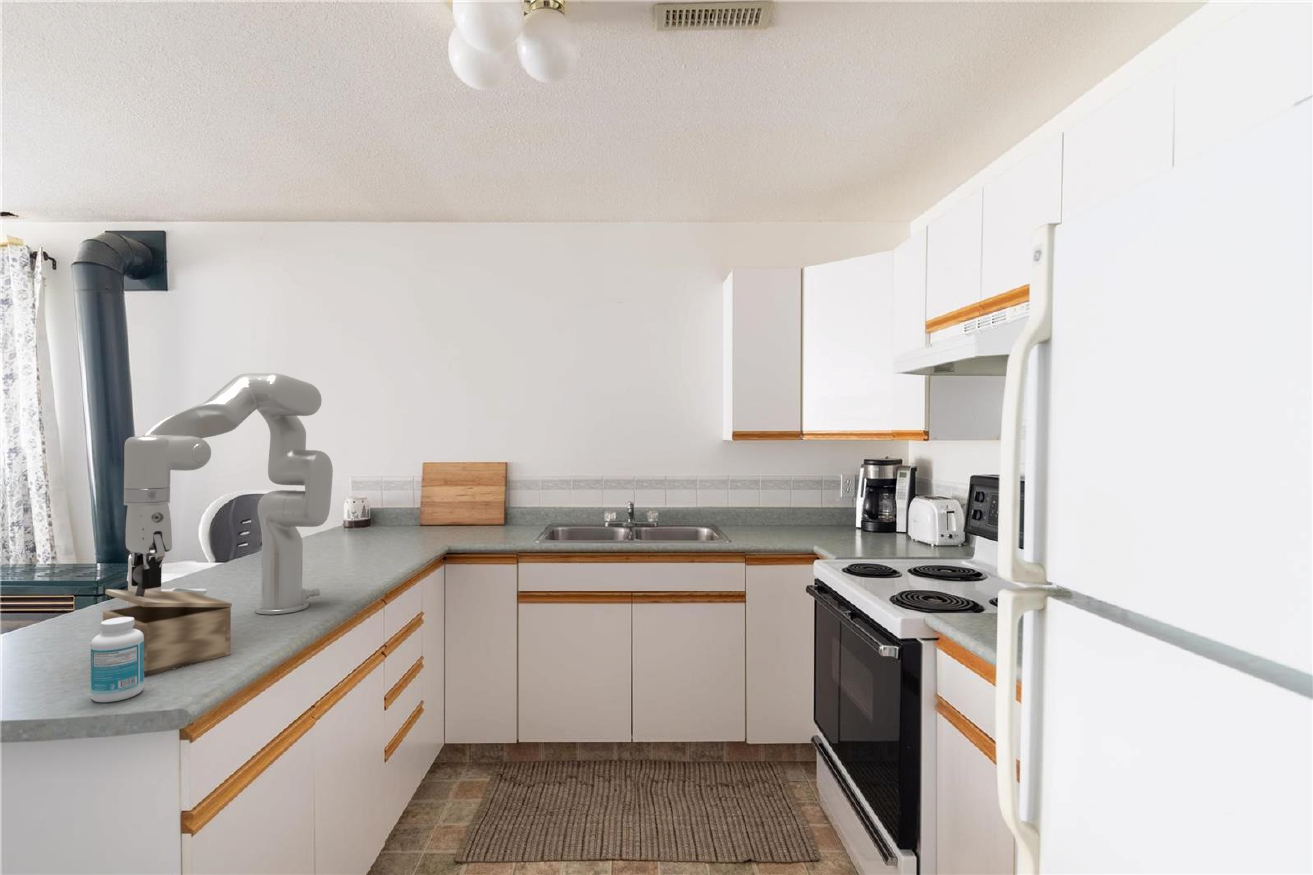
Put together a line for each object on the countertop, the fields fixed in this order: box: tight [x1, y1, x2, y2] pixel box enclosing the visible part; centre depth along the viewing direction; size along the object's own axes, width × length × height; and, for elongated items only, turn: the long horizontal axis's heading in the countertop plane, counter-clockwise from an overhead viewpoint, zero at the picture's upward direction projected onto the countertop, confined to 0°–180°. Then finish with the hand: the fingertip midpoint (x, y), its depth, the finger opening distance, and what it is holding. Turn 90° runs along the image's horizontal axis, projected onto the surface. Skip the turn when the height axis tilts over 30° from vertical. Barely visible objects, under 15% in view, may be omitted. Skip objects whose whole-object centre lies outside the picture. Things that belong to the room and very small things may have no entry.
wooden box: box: [102, 605, 232, 678], centre depth 139 cm, size 16×18×10 cm
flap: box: [104, 564, 233, 608], centre depth 140 cm, size 16×18×7 cm
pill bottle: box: [90, 617, 145, 703], centre depth 119 cm, size 8×7×14 cm
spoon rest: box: [161, 586, 208, 596], centre depth 176 cm, size 24×12×7 cm, turn 21°
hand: (146, 585), depth 136 cm, fingers closed on flap, 4 cm apart
